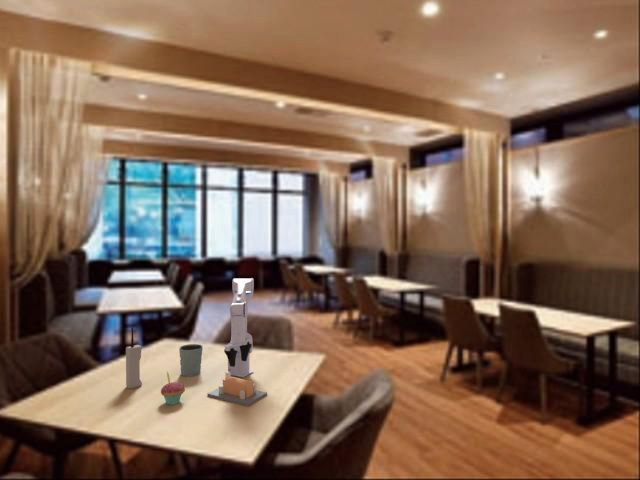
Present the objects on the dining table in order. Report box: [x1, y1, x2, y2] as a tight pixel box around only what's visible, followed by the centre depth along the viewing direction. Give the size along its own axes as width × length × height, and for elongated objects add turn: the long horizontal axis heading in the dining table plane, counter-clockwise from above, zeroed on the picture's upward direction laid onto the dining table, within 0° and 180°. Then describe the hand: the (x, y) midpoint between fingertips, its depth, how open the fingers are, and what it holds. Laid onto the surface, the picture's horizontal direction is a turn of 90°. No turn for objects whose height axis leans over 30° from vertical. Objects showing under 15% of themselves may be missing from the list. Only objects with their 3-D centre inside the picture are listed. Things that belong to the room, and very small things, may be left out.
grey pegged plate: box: [206, 383, 268, 407], centre depth 159 cm, size 20×12×4 cm, turn 62°
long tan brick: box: [222, 371, 254, 398], centre depth 159 cm, size 12×4×7 cm, turn 62°
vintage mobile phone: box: [125, 326, 143, 390], centre depth 168 cm, size 4×5×25 cm
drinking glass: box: [178, 343, 204, 377], centre depth 184 cm, size 10×10×12 cm
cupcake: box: [160, 371, 186, 405], centre depth 153 cm, size 9×8×12 cm
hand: (238, 363), depth 169 cm, fingers open, 7 cm apart
